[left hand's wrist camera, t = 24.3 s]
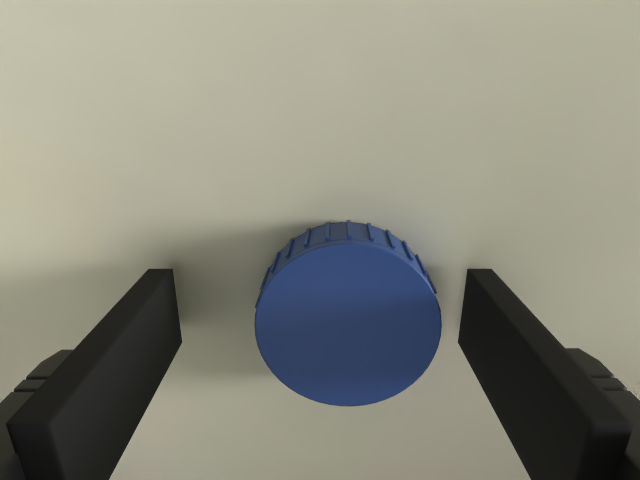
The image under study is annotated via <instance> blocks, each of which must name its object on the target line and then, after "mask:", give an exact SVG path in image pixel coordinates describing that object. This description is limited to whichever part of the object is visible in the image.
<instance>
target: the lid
mask: <svg viewBox="0 0 640 480" xmlns="http://www.w3.org/2000/svg"><path fill="white" fill-rule="evenodd" d="M260 289H261V292H260V295H259V297H258V300H257V303H256V306H255V308H257V309H256V314H255V335H256V340H257V344H258V347H259V350H260V353H261V355H262V357H263V359H264V361H265V362H266V364H267V366H268V367H269V368H270V370H271V371H272V373H273V374H274V375H275V376H276V377H277V378H278V379H279V380H280V381H281V382H282V383H284V384H285V385H286V386H287V387H288V388H290V389H291V390H293V391H295V392H296V393H298V394H300V395H302V396H304V397H306V398H308V399H311V400H314V401H317V402H320V403H324V404H329V405H336V406H361V405H367V404H372V403H376V402H379V401H383V400H386V399H388V398H390V397H392V396H395V395H397V394H398V393H400V392H402V391H403V390H405V389H406V388H408V387H409V386H410V385H412V384H413V383H414V382H415V381H416V380H417V379H418V378H419V377H420V376H421V375H422V374H423V373H424V371H425V370H426V369H427V368H428V366H429V365H430V363H431V361H432V359H433V358H434V355H435V353H436V351H437V348H438V345H439V341H440V337H441V326H442V325H441V313H440V312H441V310H440V307H439V304H438V301H437V299H436V296H435V294H436V293H437V292H436V290H435V288H434V286H433V284H432V282H431V280H430V278H429V275H428V273H427V271H425V268H424V266H423V264H422V262H421V260H420V258H419V256H418V255H414V254H413V252H412V251H411V250H410V249H409V248H408V246H407V243H406V242H405V241H403V242H402V241H400V240H399V239H398V238H396V237H395V236H393V235H392V234H391V233H390V231H389V230H386V231H384V230H382V229H379V228H377V227H374V226H371V224H370V223H367V225H366V224H361V223H353V222H350V220H347V222H341V223H333V224H330V223H329V222H327V223H326V225H323V226H320V227H317V228H314V229H312V230H310V228H309V229H307V231H306V232H305V233H304V234H302V235H300V236H298V237H297V238H296V239H294V240H293V238H292V239H291V240H290V242H289V244H288V245H287V246H286V247H285V248H284V249H283V250H282V251H281V253H280V252H278V253H277V254H276V257H275V260H274V263H273V265H272V267H271V268H268V270H267V272H266V275H265V278H264V280H263V283H262V286H261V288H260Z"/></svg>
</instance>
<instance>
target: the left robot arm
mask: <svg viewBox="0 0 640 480" xmlns="http://www.w3.org/2000/svg"><path fill="white" fill-rule="evenodd" d="M181 343H182V338H181V330H180V322H179V315H178V307H177V299H176V292H175V284H174V276H173V269H148V270H147V271H146V272H145V273H144V275H143V276H142V277H141V278H140V279H139V280H138V281H137V282H136V283H135V284H134V285H133V286H132V288H131V289H130V290H129V291H128V292H127V293H126V294H125V295H124V296H123V297H122V298H121V299H120V300H119V302H118V303H117V304H116V305H115V306H114V307H113V308H112V309H111V310H110V311H109V312H108V313H107V315H106V316H105V317H104V318H103V319H102V320H101V321H100V322H99V323H98V324H97V325H96V326H95V327H94V329H93V330H92V331H91V332H90V333H89V334H88V335H87V336H86V337H85V338H84V339H83V340H82V342H81V343H80V344H79V345H78V346H77V347H76V348H75V349H74V350H61V351H59V352H57V353H56V354H54V355H52V356H51V357H49V358H47V359H46V360H44V361H42V362H41V363H40V364H39V365H38V366H37V367H36V368H35V369H34V370H33V371H32V372H31V373H30V374H29V375H28V376H27V377H26V380H23V381H22V382H21V383H20V384H19V385H18V386H17V387H16V388H15V389H14V392H11V393H10V394H9V395H8V396H7V397H6V398H5V399H4V400H3V401H2V402H1V403H0V480H109V478H110V476H111V475H112V473H113V471H114V469H115V467H116V465H117V463H118V461H119V460H120V458H121V456H122V454H123V452H124V450H125V448H126V446H127V445H128V443H129V441H130V439H131V437H132V435H133V433H134V431H135V430H136V428H137V426H138V424H139V422H140V420H141V418H142V416H143V415H144V413H145V411H146V409H147V407H148V405H149V403H150V401H151V400H152V398H153V396H154V394H155V392H156V390H157V388H158V387H159V385H160V383H161V381H162V379H163V377H164V375H165V373H166V372H167V370H168V368H169V366H170V364H171V362H172V360H173V358H174V357H175V355H176V353H177V351H178V349H179V347H180V345H181ZM458 343H459V345H460V347H461V349H462V351H463V353H464V355H465V356H466V358H467V360H468V362H469V364H470V366H471V368H472V369H473V371H474V373H475V375H476V377H477V379H478V381H479V383H480V384H481V386H482V388H483V390H484V392H485V394H486V396H487V398H488V399H489V401H490V403H491V405H492V407H493V409H494V411H495V413H496V414H497V416H498V418H499V420H500V422H501V424H502V426H503V428H504V429H505V431H506V433H507V435H508V437H509V439H510V441H511V443H512V444H513V446H514V448H515V450H516V452H517V454H518V456H519V458H520V459H521V461H522V463H523V465H524V467H525V469H526V471H527V473H528V474H529V476H530V478H531V480H640V401H639V400H638V399H637V398H636V397H635V396H634V395H633V394H632V393H631V392H630V391H627V389H626V387H625V386H624V385H623V384H622V383H621V382H620V381H619V380H618V379H617V378H614V375H613V374H612V373H611V372H610V371H609V370H608V369H607V368H606V367H605V366H604V365H603V364H602V363H601V362H600V361H599V360H597V359H595V358H594V357H592V356H590V355H589V354H587V353H585V352H584V351H582V350H580V349H579V348H564V347H563V346H562V345H561V344H560V342H559V341H558V340H557V339H556V338H555V337H554V336H553V335H552V334H551V333H550V332H549V331H548V330H547V328H546V327H545V326H544V325H543V324H542V323H541V322H540V321H539V320H538V319H537V318H536V317H535V315H534V314H533V313H532V312H531V311H530V310H529V309H528V308H527V307H526V306H525V305H524V304H523V303H522V301H521V300H520V299H519V298H518V297H517V296H516V295H515V294H514V293H513V292H512V291H511V290H510V288H509V287H508V286H507V285H506V284H505V283H504V282H503V281H502V280H501V279H500V278H499V277H498V276H497V274H496V273H495V272H494V271H493V270H492V269H467V277H466V285H465V292H464V300H463V308H462V315H461V323H460V331H459V338H458Z"/></svg>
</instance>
